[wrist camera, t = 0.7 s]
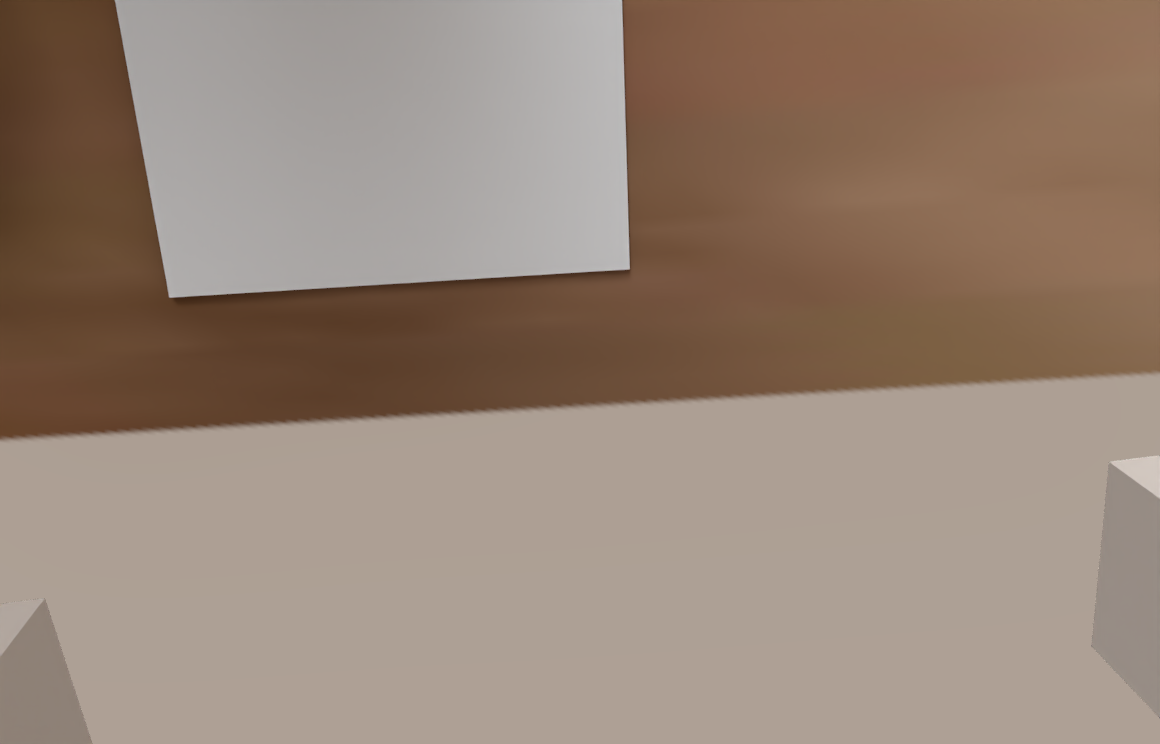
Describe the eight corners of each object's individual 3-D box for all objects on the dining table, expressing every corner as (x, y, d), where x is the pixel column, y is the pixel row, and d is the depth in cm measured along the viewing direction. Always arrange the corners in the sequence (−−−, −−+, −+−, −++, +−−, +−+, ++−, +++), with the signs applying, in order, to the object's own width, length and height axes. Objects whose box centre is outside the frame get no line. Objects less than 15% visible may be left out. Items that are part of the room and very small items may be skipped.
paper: (172, 295, 35) (169, 297, 35) (103, -82, 31) (99, -83, 31) (628, 267, 36) (629, 269, 35) (617, -102, 32) (619, -103, 32)
